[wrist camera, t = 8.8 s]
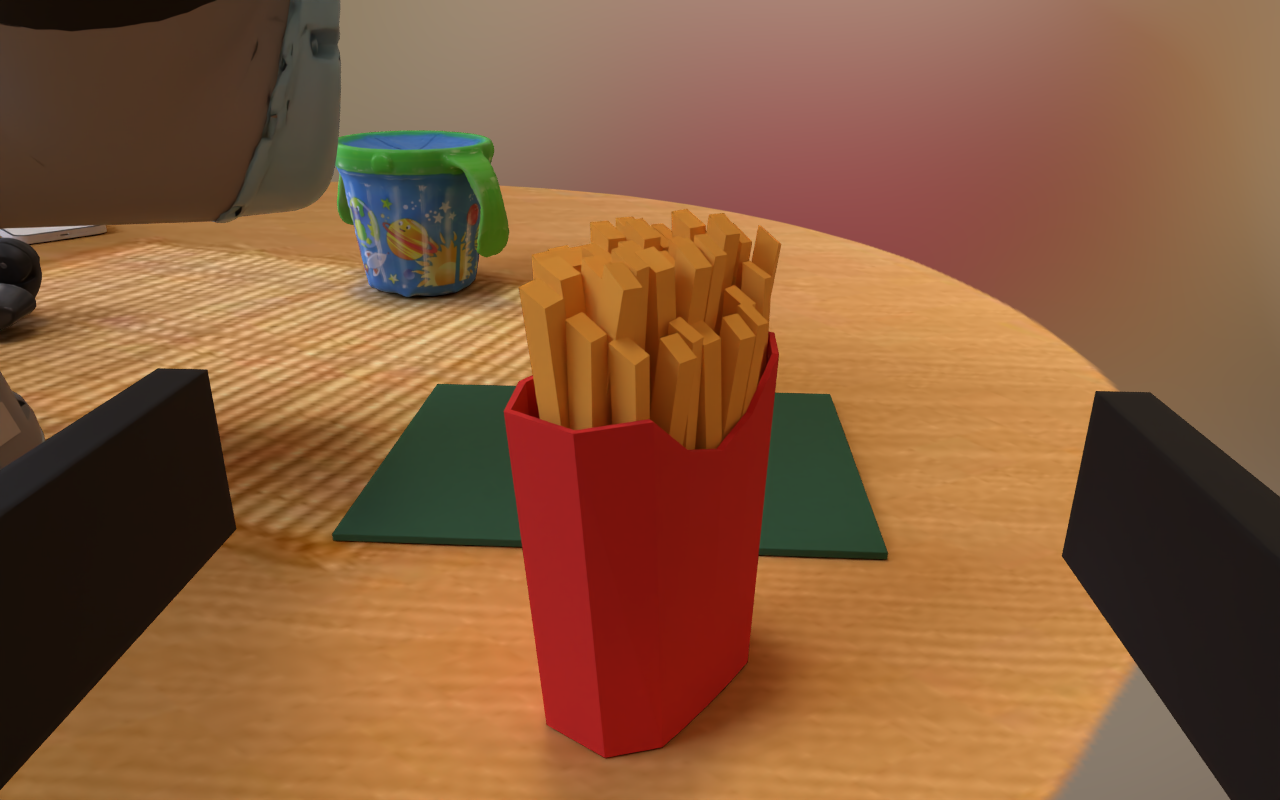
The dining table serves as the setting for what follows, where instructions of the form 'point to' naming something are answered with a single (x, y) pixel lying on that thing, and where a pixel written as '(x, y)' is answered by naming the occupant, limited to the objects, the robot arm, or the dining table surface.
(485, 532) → the green cloth
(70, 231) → the smartphone
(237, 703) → the dining table surface
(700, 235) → the french fries
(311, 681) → the dining table surface
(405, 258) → the snack cup
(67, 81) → the robot arm
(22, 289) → the can opener
